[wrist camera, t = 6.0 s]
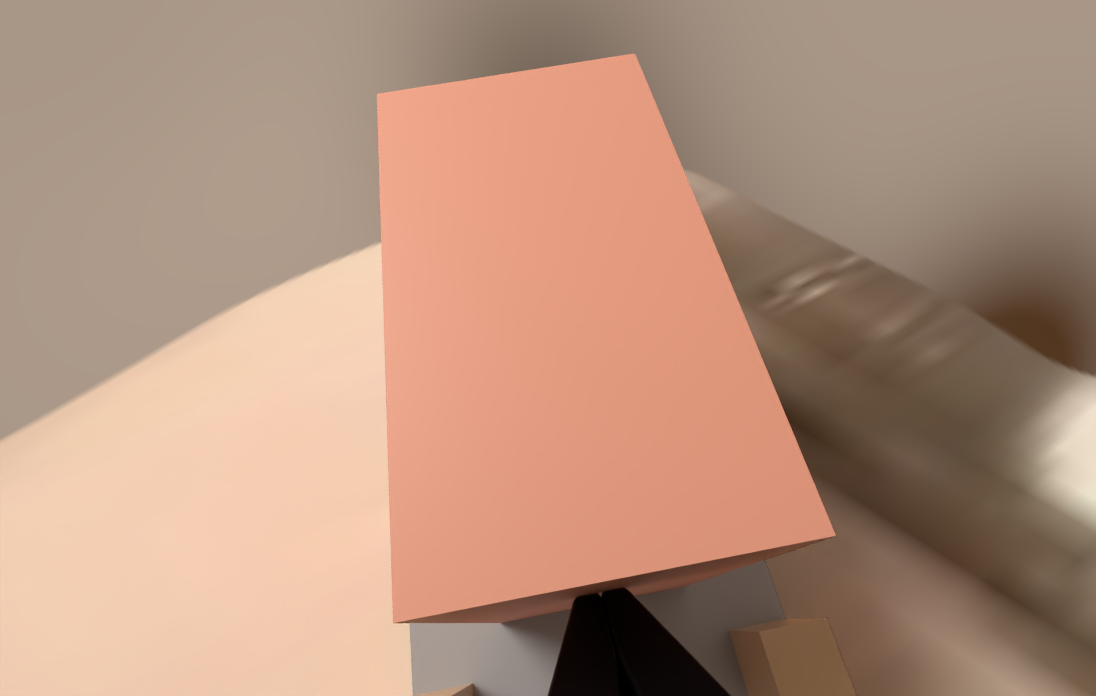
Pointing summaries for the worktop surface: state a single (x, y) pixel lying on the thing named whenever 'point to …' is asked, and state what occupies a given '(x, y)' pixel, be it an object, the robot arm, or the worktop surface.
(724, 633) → the chute
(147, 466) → the worktop surface
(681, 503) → the block
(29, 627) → the worktop surface
